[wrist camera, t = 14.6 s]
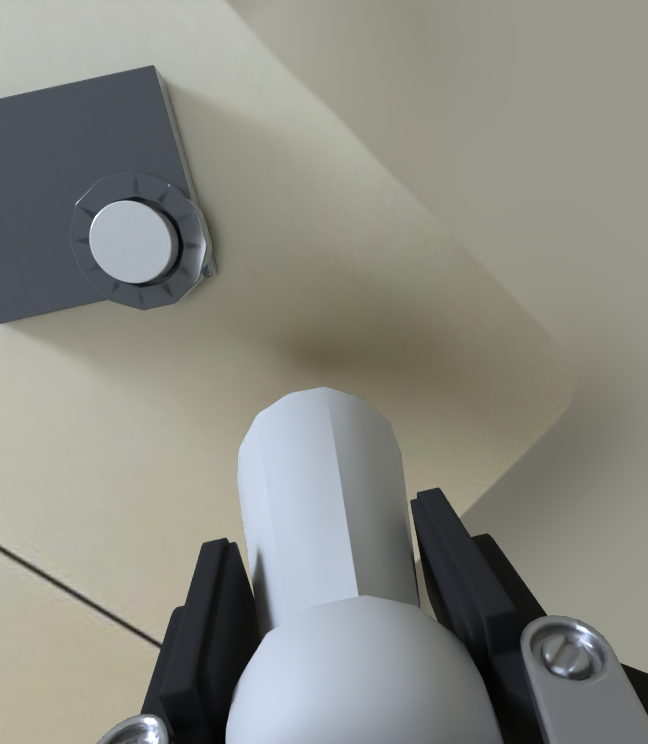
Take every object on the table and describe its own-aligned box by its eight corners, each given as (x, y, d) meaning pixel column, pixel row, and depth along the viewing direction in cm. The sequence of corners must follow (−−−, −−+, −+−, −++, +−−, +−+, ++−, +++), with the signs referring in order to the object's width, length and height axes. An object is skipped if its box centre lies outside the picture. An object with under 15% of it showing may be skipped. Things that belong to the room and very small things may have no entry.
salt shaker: (219, 403, 18) (57, 778, 5) (356, 348, 18) (528, 596, 5) (278, 523, 19) (264, 1032, 7) (405, 473, 19) (627, 900, 7)
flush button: (166, 196, 24) (156, 192, 22) (188, 272, 25) (181, 273, 23) (91, 213, 24) (76, 210, 22) (117, 288, 25) (104, 291, 23)
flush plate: (172, 77, 26) (152, 47, 22) (229, 287, 29) (220, 292, 25) (-81, 133, 25) (-146, 112, 22) (5, 338, 29) (-39, 351, 25)
